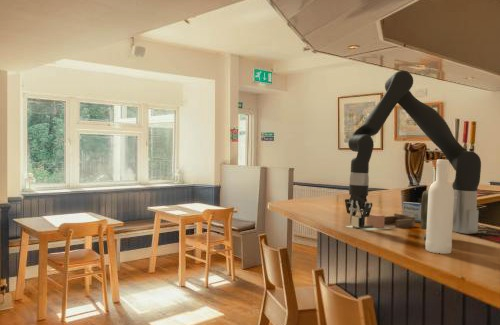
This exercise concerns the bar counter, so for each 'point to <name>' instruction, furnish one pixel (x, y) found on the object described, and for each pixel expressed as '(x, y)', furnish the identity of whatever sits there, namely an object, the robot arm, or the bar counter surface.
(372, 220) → the pull block
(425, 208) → the tabletop clock
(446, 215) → the bottle
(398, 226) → the shelf lane
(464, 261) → the bar counter surface
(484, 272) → the bar counter surface
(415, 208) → the medicine box
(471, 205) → the robot arm
